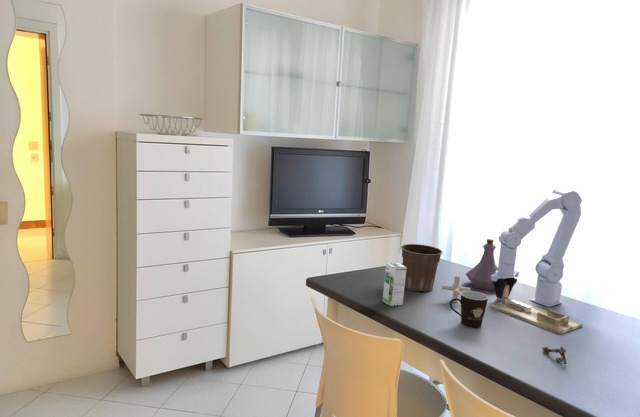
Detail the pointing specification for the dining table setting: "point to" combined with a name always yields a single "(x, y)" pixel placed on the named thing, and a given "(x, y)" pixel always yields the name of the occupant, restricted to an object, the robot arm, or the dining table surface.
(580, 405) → the dining table surface
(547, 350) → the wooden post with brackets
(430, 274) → the plant pot
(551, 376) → the dining table surface
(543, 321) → the dock
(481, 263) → the flask
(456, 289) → the pipe connector
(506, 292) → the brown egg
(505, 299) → the lock pin
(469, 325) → the coffee mug
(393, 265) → the syrup box
